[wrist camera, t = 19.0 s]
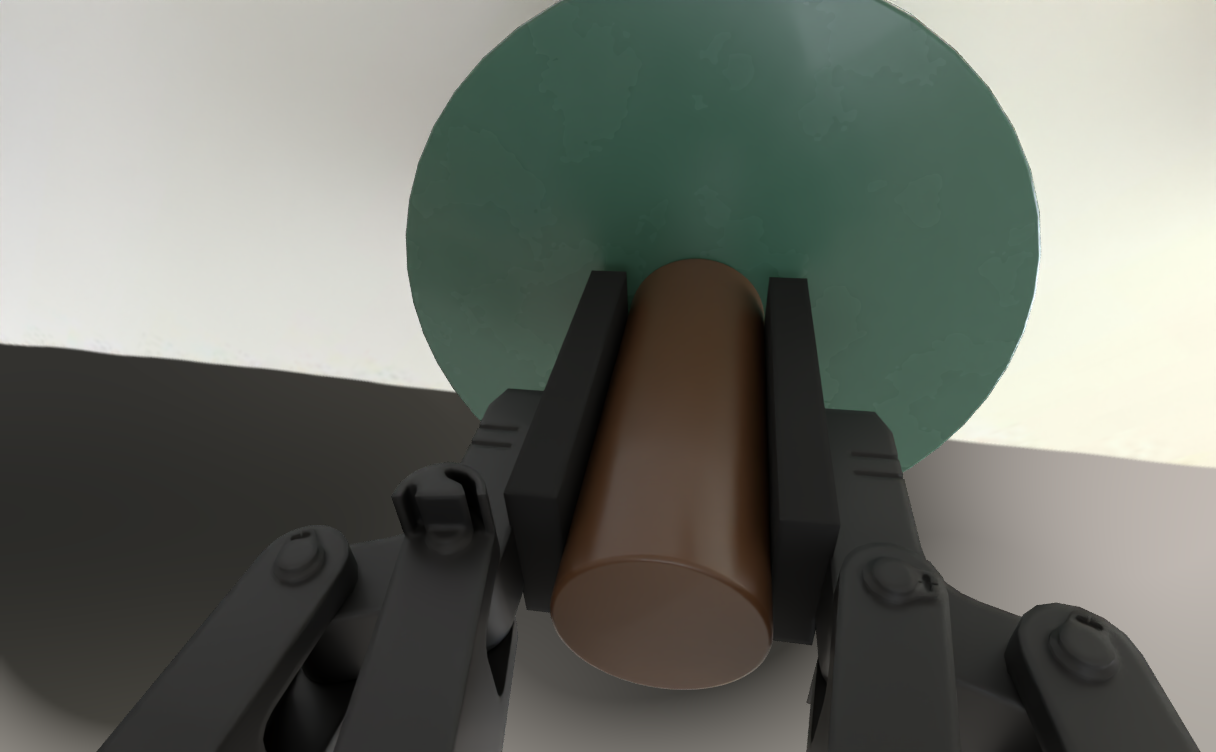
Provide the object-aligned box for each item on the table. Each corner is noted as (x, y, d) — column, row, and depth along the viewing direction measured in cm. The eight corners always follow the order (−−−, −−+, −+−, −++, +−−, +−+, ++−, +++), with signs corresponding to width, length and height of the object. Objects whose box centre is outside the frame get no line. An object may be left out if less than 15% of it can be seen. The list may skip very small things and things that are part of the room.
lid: (474, 470, 21) (334, 777, 14) (358, -32, 13) (-120, 87, 6) (934, 512, 19) (1045, 902, 12) (1139, -63, 11) (1904, 70, 4)
